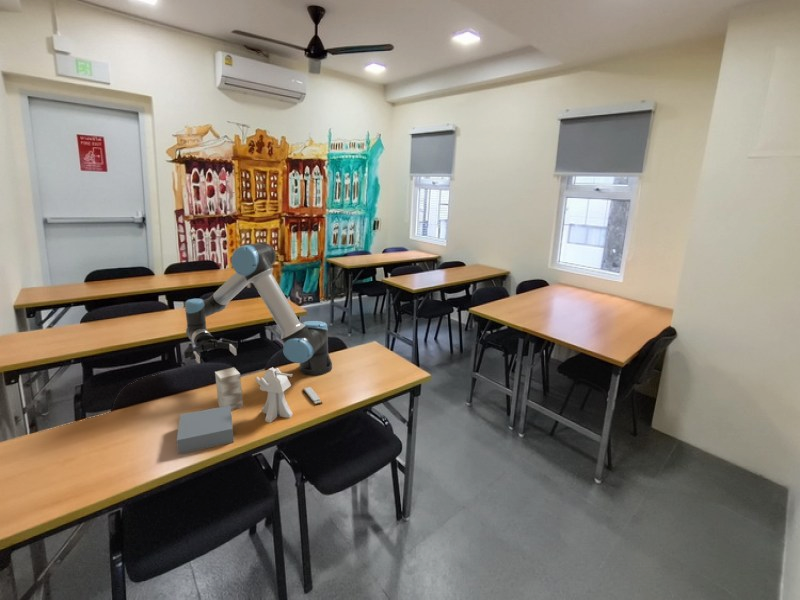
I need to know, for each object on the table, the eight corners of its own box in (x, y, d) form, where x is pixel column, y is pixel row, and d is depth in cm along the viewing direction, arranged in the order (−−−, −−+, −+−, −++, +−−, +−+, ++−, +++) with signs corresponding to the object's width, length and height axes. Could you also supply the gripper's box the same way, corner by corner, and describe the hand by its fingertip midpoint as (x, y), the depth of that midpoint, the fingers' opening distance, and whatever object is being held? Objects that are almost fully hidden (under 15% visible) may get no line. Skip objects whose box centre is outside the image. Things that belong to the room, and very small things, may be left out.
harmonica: (322, 404, 154) (322, 400, 153) (315, 406, 152) (314, 402, 152) (309, 389, 166) (309, 385, 165) (302, 391, 164) (302, 386, 164)
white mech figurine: (285, 425, 139) (282, 379, 134) (253, 419, 142) (249, 373, 138) (302, 409, 150) (300, 365, 145) (272, 403, 153) (269, 360, 149)
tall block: (237, 399, 155) (234, 367, 152) (243, 406, 150) (240, 373, 147) (218, 405, 151) (214, 371, 148) (224, 412, 146) (220, 378, 142)
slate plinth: (231, 417, 143) (230, 405, 142) (233, 442, 129) (232, 428, 128) (182, 427, 136) (180, 414, 135) (178, 454, 122) (176, 440, 121)
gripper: (233, 342, 178) (250, 357, 162) (171, 354, 162) (183, 372, 147) (232, 326, 176) (249, 340, 160) (169, 337, 160) (181, 354, 145)
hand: (217, 356), depth 154 cm, fingers open, 13 cm apart
